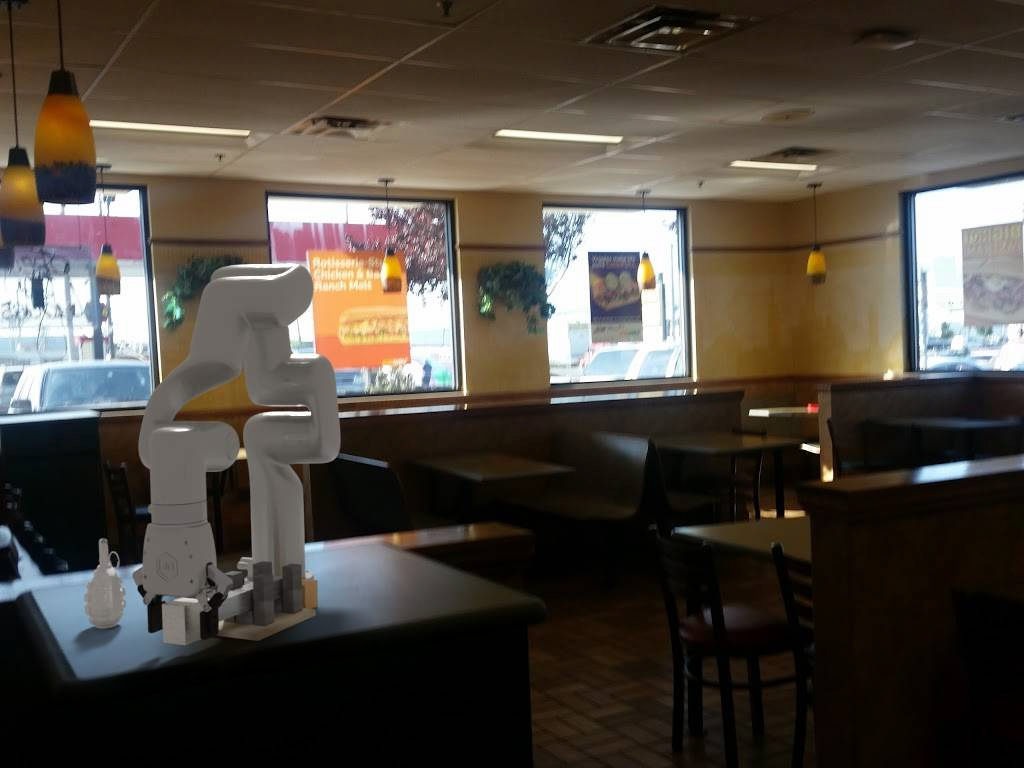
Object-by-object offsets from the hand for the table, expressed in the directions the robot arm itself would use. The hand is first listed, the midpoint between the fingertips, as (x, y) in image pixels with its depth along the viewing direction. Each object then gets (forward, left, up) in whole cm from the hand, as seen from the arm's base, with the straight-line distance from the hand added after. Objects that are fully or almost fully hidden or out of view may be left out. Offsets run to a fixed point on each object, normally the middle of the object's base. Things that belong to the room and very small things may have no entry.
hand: (183, 633), depth 148 cm
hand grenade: (-22, +8, -3) cm, 24 cm away
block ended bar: (0, +10, -1) cm, 10 cm away
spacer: (0, +26, -1) cm, 26 cm away
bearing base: (0, +18, -3) cm, 18 cm away
